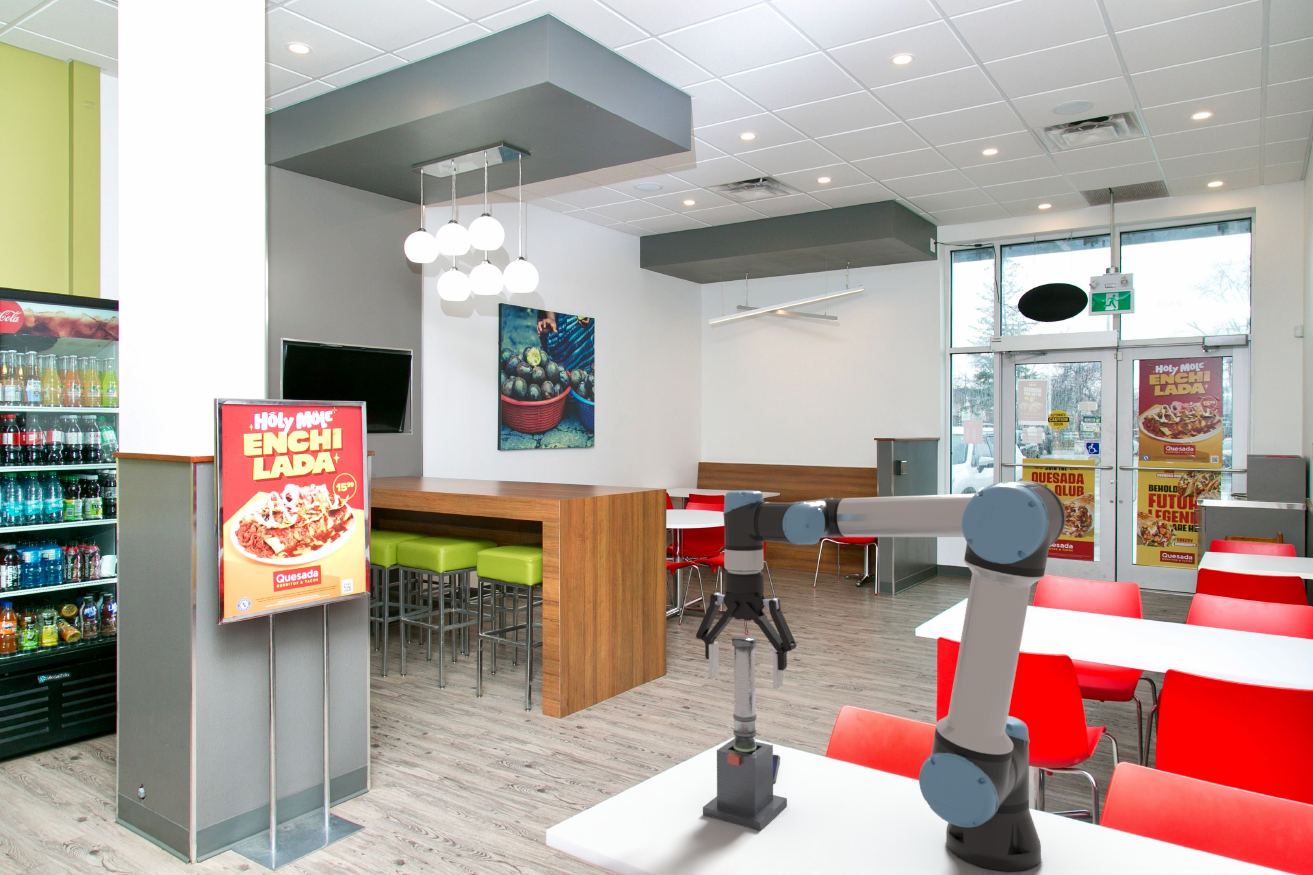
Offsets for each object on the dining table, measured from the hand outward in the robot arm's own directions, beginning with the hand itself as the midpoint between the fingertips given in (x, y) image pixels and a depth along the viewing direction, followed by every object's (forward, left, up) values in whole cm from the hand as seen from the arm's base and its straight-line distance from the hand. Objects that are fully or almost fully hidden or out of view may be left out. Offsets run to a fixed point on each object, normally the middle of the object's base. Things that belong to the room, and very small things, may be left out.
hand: (745, 681), depth 156 cm
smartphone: (+6, -20, -25) cm, 33 cm away
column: (0, 0, -15) cm, 15 cm away
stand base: (0, 0, -25) cm, 25 cm away
